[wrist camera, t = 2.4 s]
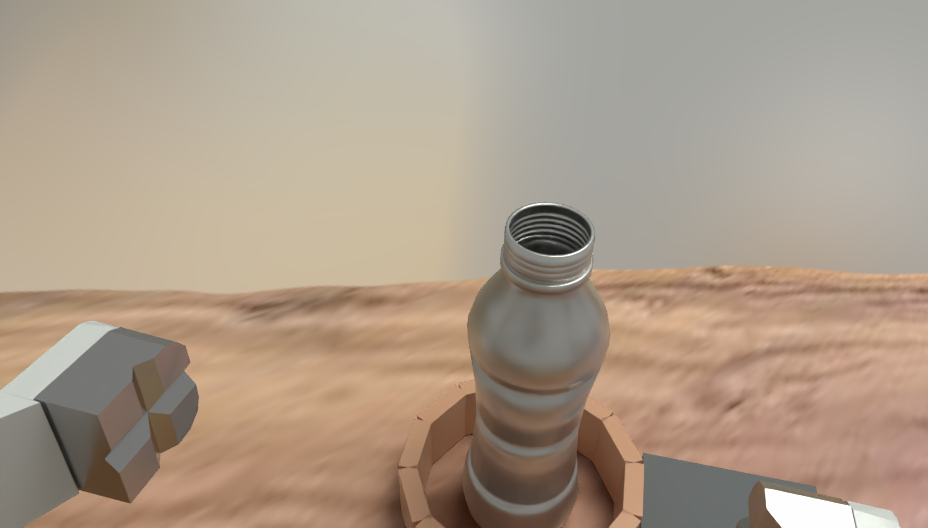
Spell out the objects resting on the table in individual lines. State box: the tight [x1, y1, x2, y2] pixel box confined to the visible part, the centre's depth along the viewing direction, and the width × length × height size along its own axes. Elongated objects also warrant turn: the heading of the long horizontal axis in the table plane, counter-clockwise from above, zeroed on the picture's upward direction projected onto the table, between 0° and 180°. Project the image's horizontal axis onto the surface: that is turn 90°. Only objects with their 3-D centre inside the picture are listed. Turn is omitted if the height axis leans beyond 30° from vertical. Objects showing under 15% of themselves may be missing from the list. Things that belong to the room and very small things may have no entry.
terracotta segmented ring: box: [398, 379, 644, 528], centre depth 39 cm, size 13×13×4 cm
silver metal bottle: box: [462, 202, 610, 528], centre depth 34 cm, size 6×7×20 cm
